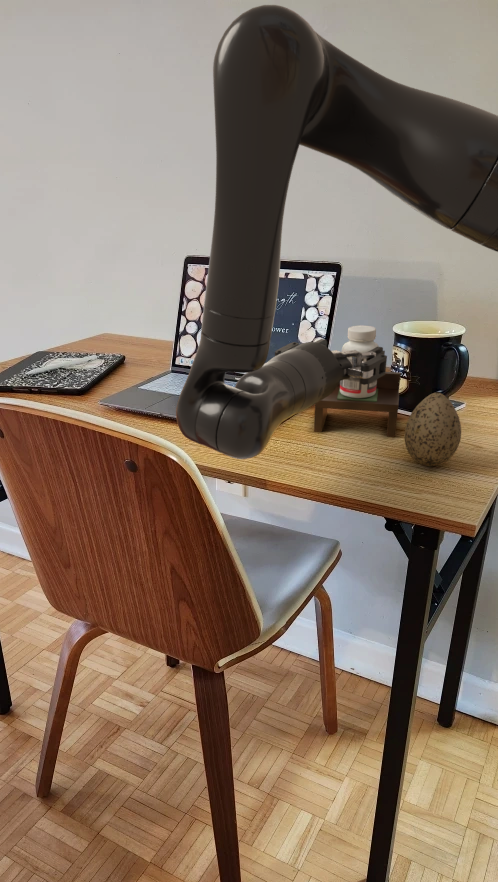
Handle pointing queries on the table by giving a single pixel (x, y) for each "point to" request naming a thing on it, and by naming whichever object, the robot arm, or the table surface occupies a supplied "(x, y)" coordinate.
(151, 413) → the table surface
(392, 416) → the bench
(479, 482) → the table surface
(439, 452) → the decorative egg
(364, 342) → the pill bottle
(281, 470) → the table surface
